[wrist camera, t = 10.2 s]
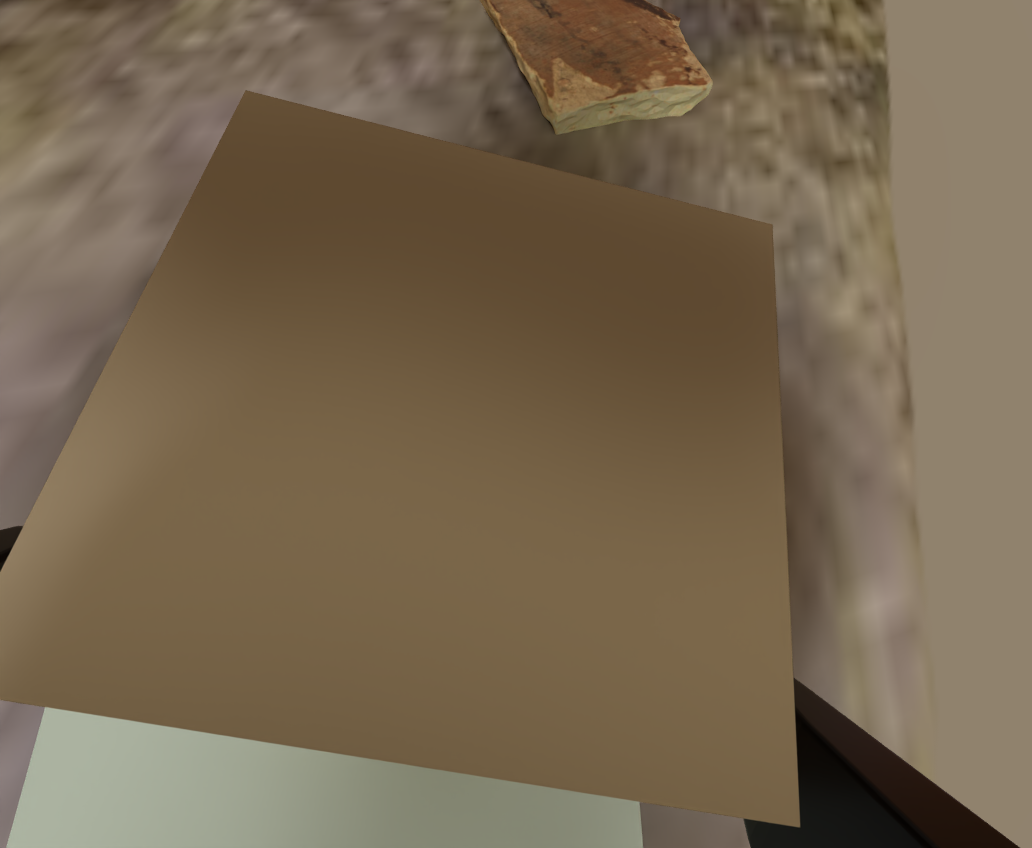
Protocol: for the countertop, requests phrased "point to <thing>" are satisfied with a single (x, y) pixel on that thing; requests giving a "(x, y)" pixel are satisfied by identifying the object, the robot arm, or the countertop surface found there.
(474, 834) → the mat
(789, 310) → the countertop surface
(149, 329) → the oak block
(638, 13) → the shard
